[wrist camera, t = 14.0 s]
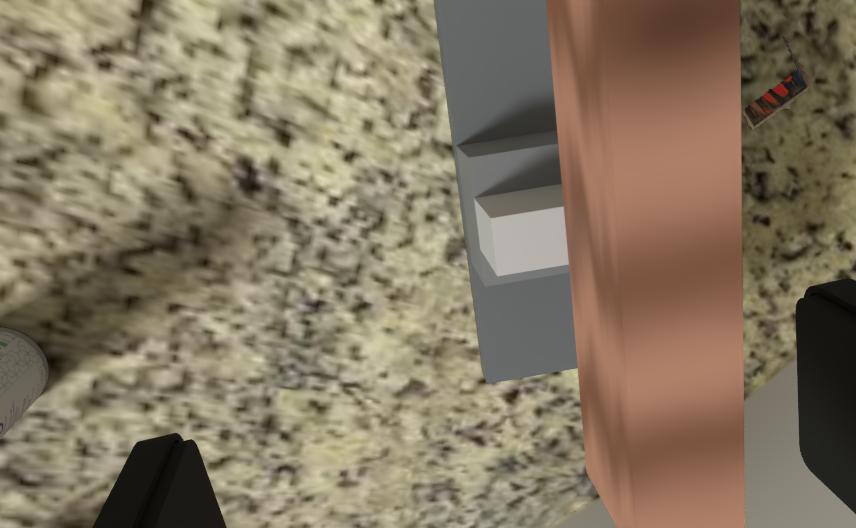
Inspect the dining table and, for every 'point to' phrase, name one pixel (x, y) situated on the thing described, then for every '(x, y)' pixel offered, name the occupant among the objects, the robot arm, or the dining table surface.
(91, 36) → the dining table surface
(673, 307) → the beam
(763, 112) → the matchbox
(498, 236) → the ridge stand
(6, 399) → the container
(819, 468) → the robot arm
